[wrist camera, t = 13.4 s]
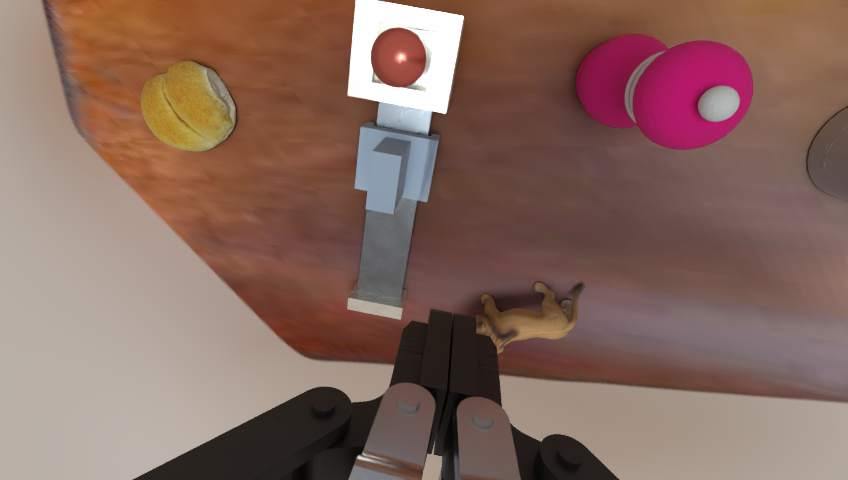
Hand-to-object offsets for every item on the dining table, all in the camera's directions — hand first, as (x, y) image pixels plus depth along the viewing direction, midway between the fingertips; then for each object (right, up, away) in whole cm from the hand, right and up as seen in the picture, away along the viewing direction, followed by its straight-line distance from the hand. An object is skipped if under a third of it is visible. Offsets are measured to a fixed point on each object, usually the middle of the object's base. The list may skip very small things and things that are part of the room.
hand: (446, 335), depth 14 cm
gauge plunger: (-2, +18, +22) cm, 29 cm away
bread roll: (-24, +17, +31) cm, 43 cm away
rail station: (-3, +10, +31) cm, 33 cm away
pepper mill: (+16, +18, +26) cm, 35 cm away
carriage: (-3, +12, +30) cm, 33 cm away
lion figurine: (+10, -4, +36) cm, 38 cm away
